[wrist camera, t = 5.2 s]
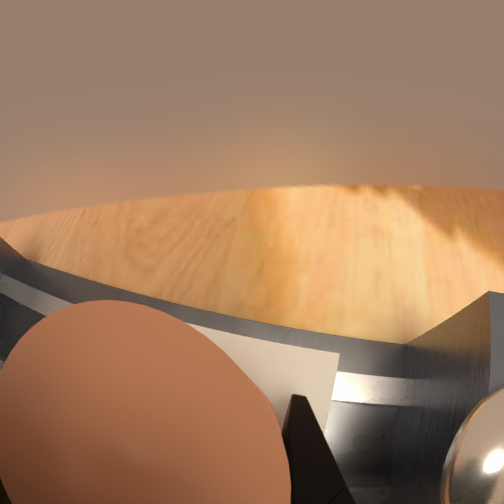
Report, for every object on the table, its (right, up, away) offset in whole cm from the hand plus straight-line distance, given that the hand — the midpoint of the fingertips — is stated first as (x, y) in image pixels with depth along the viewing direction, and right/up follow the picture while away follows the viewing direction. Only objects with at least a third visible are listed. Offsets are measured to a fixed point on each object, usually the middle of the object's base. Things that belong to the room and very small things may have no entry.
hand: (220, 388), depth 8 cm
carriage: (0, -3, +2) cm, 4 cm away
